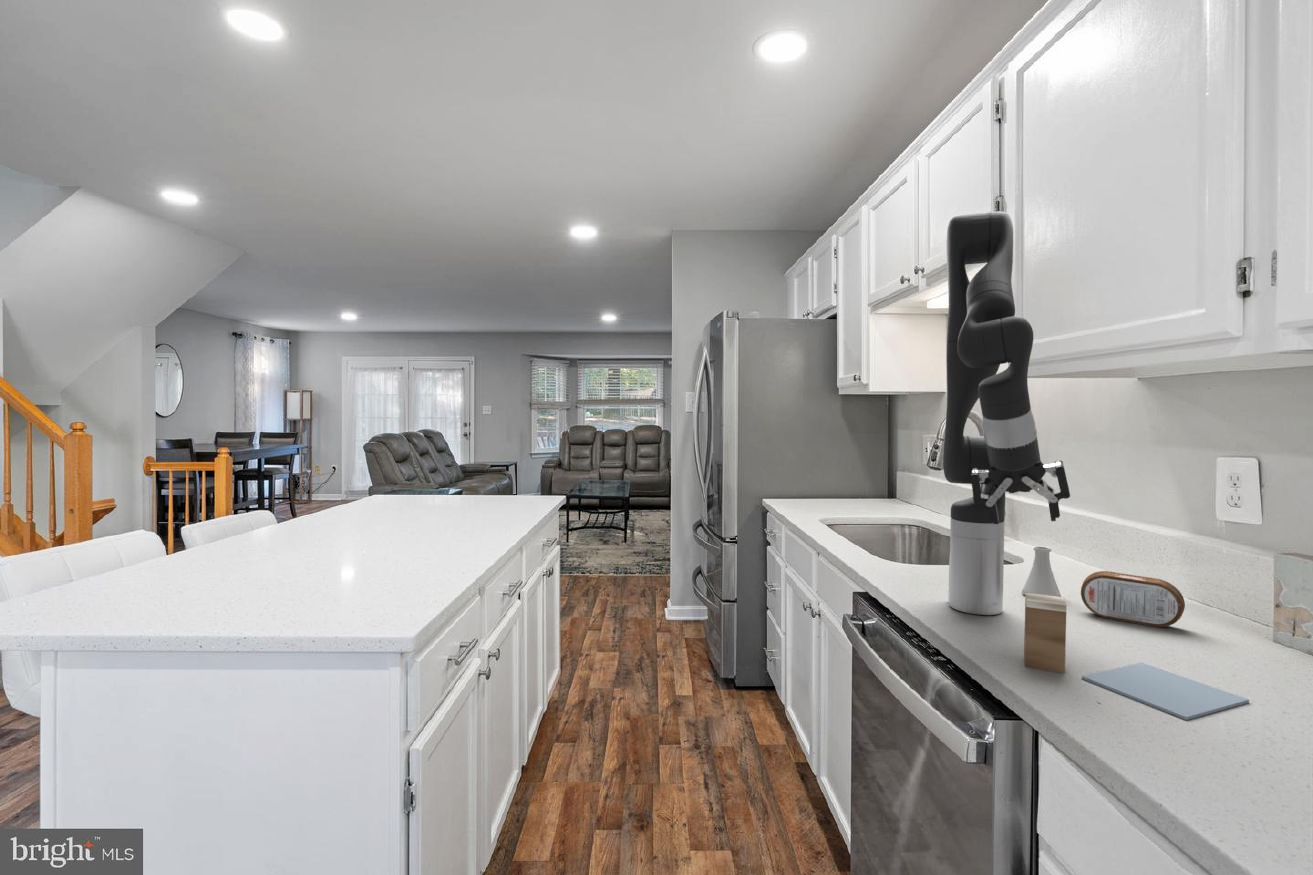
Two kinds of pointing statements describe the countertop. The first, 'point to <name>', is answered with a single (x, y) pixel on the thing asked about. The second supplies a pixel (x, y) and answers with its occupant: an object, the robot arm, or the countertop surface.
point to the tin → (1132, 598)
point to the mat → (1165, 690)
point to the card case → (1045, 632)
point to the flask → (1041, 575)
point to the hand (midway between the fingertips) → (1024, 520)
